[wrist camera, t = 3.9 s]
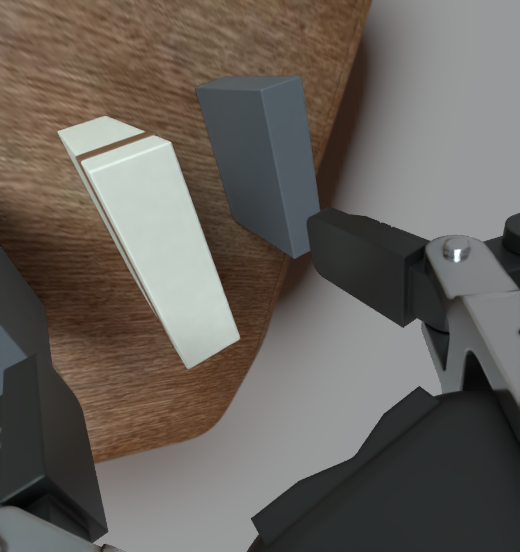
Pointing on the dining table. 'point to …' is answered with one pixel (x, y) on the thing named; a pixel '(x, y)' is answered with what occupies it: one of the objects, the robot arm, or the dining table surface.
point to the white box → (155, 231)
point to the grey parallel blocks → (236, 180)
